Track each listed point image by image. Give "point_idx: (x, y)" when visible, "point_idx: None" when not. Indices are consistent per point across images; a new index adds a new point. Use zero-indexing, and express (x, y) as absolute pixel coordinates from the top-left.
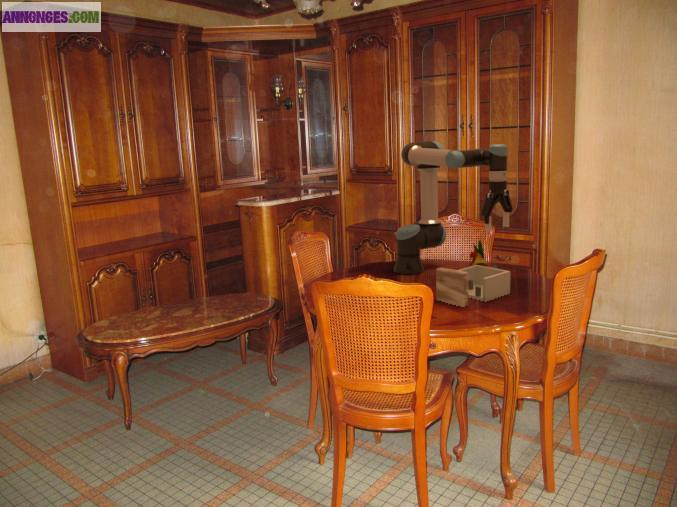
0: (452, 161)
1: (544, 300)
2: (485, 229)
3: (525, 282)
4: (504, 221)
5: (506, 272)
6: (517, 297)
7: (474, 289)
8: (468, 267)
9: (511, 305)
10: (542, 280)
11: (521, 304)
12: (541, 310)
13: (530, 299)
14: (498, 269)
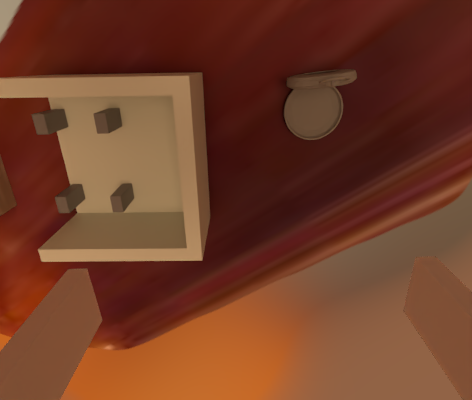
0: None
1: (223, 306)
2: (62, 286)
3: (366, 175)
4: (450, 319)
5: (176, 260)
6: None
7: (125, 131)
8: (113, 83)
9: (123, 277)
10: (424, 201)
11: (150, 288)
12: (150, 336)
13: (205, 281)
14: (192, 212)
